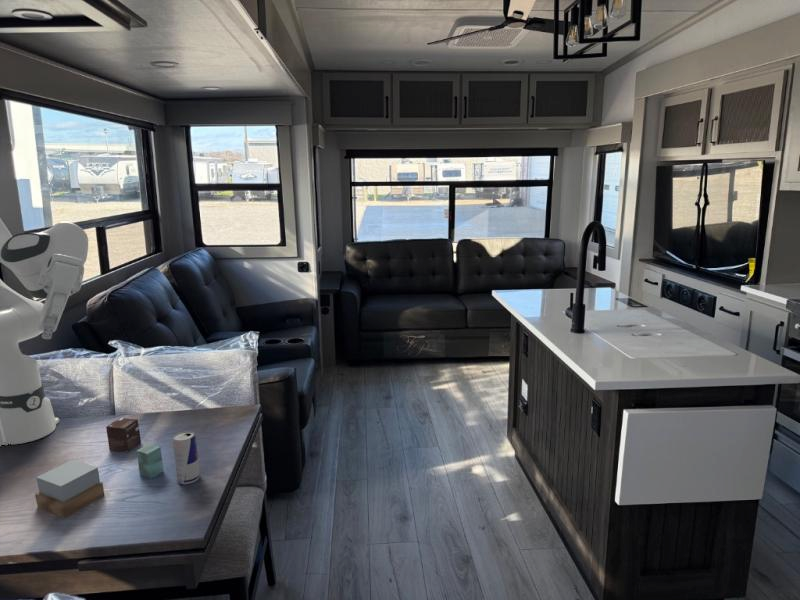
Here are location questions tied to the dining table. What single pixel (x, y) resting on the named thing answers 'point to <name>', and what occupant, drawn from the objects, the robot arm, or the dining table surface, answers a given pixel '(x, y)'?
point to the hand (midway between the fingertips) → (50, 326)
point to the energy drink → (186, 457)
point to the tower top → (68, 480)
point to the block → (150, 460)
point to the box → (123, 434)
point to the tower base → (70, 501)
